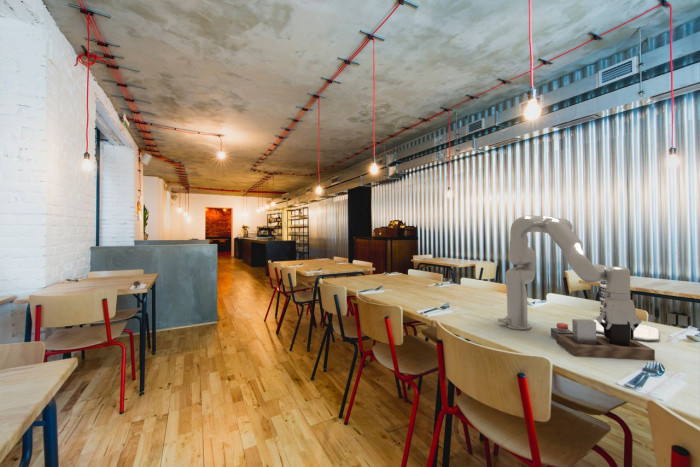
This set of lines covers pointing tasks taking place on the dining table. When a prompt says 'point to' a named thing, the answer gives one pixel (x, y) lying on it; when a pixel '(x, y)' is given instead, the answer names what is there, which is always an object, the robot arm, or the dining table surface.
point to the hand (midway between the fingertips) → (618, 338)
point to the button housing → (559, 332)
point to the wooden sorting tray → (599, 344)
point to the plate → (637, 332)
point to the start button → (562, 326)
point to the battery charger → (620, 335)
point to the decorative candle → (602, 290)
